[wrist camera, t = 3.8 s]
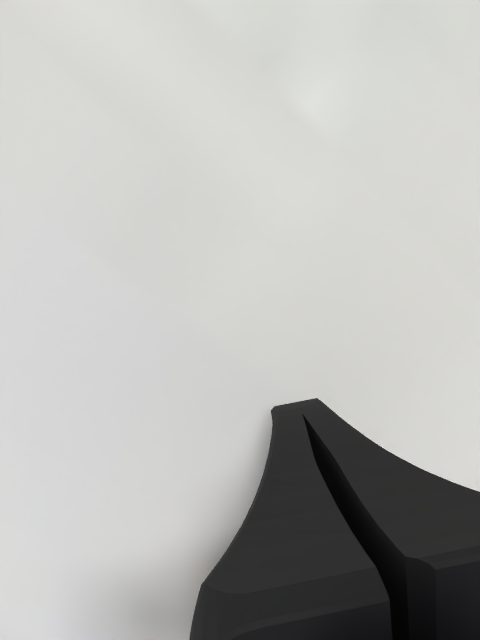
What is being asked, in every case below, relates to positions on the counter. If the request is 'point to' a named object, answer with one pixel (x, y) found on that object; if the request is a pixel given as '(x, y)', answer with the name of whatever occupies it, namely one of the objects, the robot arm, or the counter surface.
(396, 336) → the counter surface
